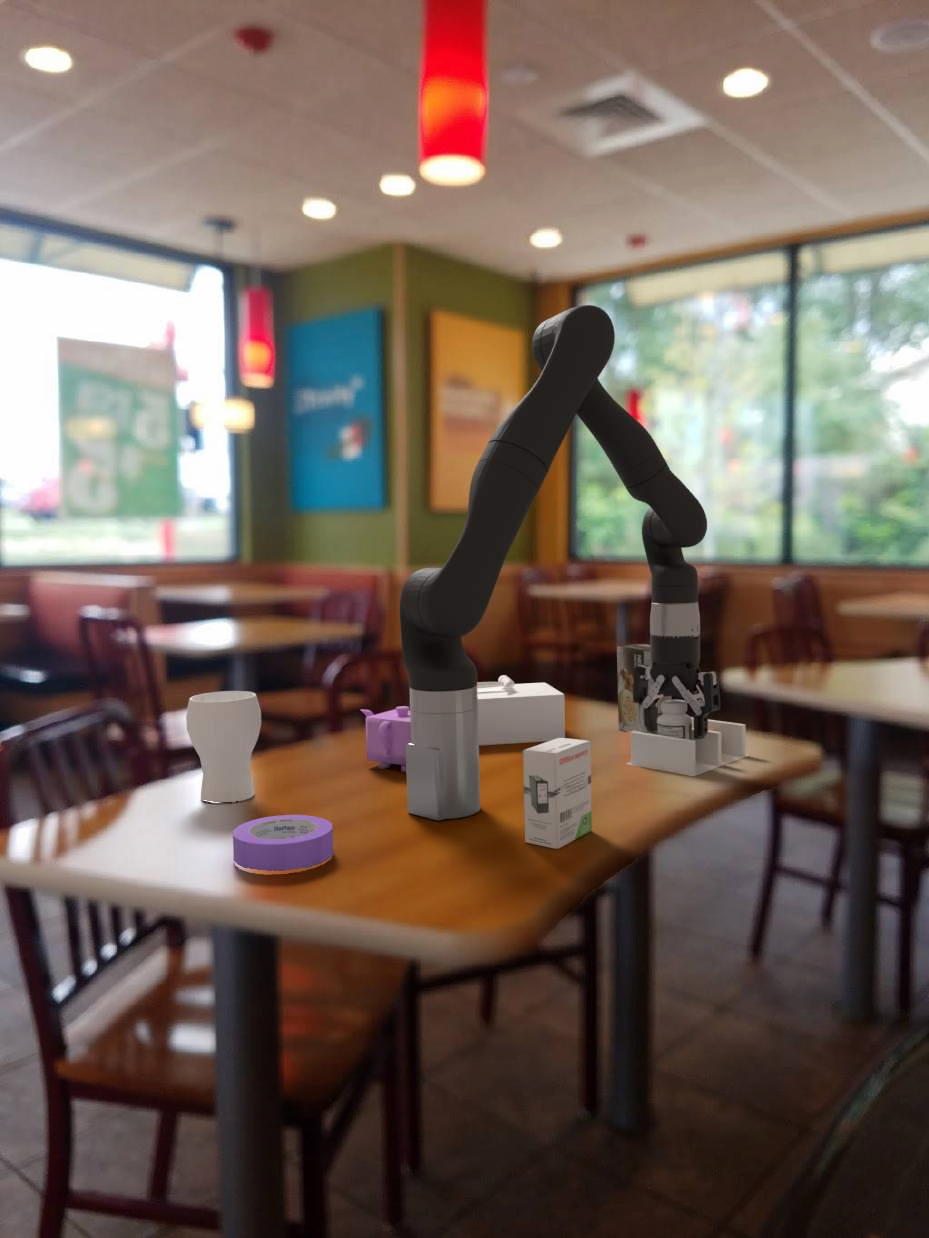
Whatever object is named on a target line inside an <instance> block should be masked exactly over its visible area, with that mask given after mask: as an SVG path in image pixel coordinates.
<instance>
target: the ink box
mask: <svg viewBox="0 0 929 1238" xmlns="http://www.w3.org/2000/svg"><path fill="white" fill-rule="evenodd" d="M522 759H523V760H522V764H523V765H522V766H523V767H522V768H523V771H522V772H523V806H524V807H523V809H524V810H523V813H524V814H523V816H524V842H525V843H526V844H532V845H536V846H542V847H545V848H550V849H557V850H559V849H560V848H563V847H564V846H566V845H568V844H570V843H572V842H573V841H575V840H577V839H579V838H581V837H583V836H584V835H585V836H586V835H587V834H588V833H590V832H591V831H592V829H593V828H592V827H593V825H592V823H593V821H592V817H593V816H592V742H591V741H590V740H585V739H579V738H578V739H577V738H568V737H567V738H566V737H565V738H557V739H554V740H551V741H544V742H542V743H540V744H538V745H537V744H536V745H534V746H532V747H528V748H525V749H524V750H522Z"/></svg>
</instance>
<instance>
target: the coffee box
mask: <svg viewBox="0 0 929 1238" xmlns="http://www.w3.org/2000/svg"><path fill="white" fill-rule="evenodd" d="M616 658H617V659H616V662H617V664H616V665H617V702H618V703H617V710H618V712H617V713H618V715H617V716H618V730H619V731H623V732H626V733H628V732H632V731H636V732H643V733H649V734H650V732H648V731H647V728H645V725H644V707H643V706H642V705H641V704H639V703H635V702H634V701H633V684H634V668H635V667H636V666H641V665H648V666H649V667H652V661H651V658H650V644H647V643H633V644H625V645H617V646H616ZM653 685H654V681H653V679H652V677H651V676H650V678H649V681H648V692H649V690H650V689H651V687H652V686H653ZM672 697H673V696H663V697H662V698H661V700H660V701H659V702H658V704H657V705H656V707H658V717H659V716H660V715H662V714H663V712H662V711H661V702H662V701H665V700H673V699H672ZM654 732H655V733H657V731H654ZM654 732H653V733H654Z"/></svg>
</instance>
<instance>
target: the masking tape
mask: <svg viewBox="0 0 929 1238" xmlns="http://www.w3.org/2000/svg"><path fill="white" fill-rule="evenodd" d="M333 829H334V828H333V823H332V822H331V821H329V820H327V819H326V818H322V817H318V816H313V815H304V814H285V815H274V816H273V815H272V816H266V817H261V818H257V819H252V820H249V821H247V822H244V823H242V824H239V825H238V826H237V827H236V828H234V829H233V831H232V845H233V846H232V847H233V848H232V849H233V850H232V851H233V854H232V855H233V862H234V861H235V862H236V863H237V864H238V865H240V866H242V867H244V868H250V869H257V870H265V871H266V870H267V871H272V870H273V871H285V870H293V869H299V868H308V867H312V866H315V865H318V864H321V863H322V862H324V861H326V860H328V859H329V858H331V857H332V855H333V856H334V830H333ZM332 858H333V857H332Z"/></svg>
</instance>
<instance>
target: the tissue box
mask: <svg viewBox="0 0 929 1238" xmlns="http://www.w3.org/2000/svg"><path fill="white" fill-rule="evenodd" d="M477 695H478V736H479V746H489V745H490V746H491V745H505V744H510V745H511V744H523V743H524V744H525V743H538V742H539V743H540V742H542V743H543V742H548V741H551V740H554V739H557V738H566V721H565V720H566V718H565V716H566V715H565V713H566V712H565V711H566V710H565V693H563V692H561V691H559V690H558V689H556V688H554V687H553V686H552V685H550V684H548V683H547V682H531V683H526V682H525V683H515V682H514V681H513V679H511V678H510V677H509V676H507V674H506V675H505V674H503V675H500V676H499V677H498V681H482V682H481V681H480V682H479V681H477Z"/></svg>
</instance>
